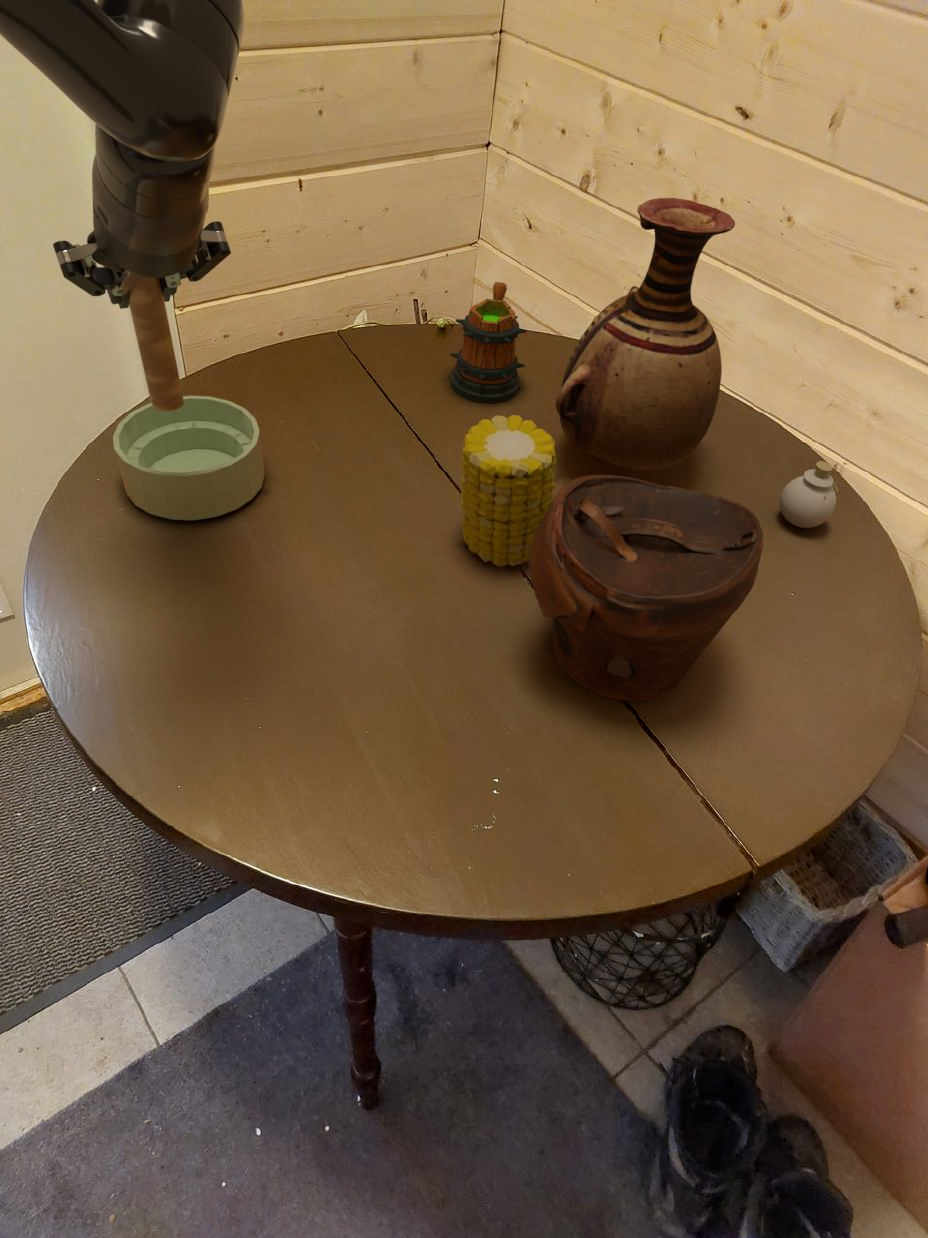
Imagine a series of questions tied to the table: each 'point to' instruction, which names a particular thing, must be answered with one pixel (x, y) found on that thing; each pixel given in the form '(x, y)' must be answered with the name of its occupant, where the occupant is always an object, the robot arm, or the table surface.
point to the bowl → (190, 458)
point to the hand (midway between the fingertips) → (140, 294)
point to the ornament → (810, 497)
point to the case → (639, 579)
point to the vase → (649, 354)
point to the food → (505, 487)
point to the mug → (488, 351)
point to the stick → (155, 344)
